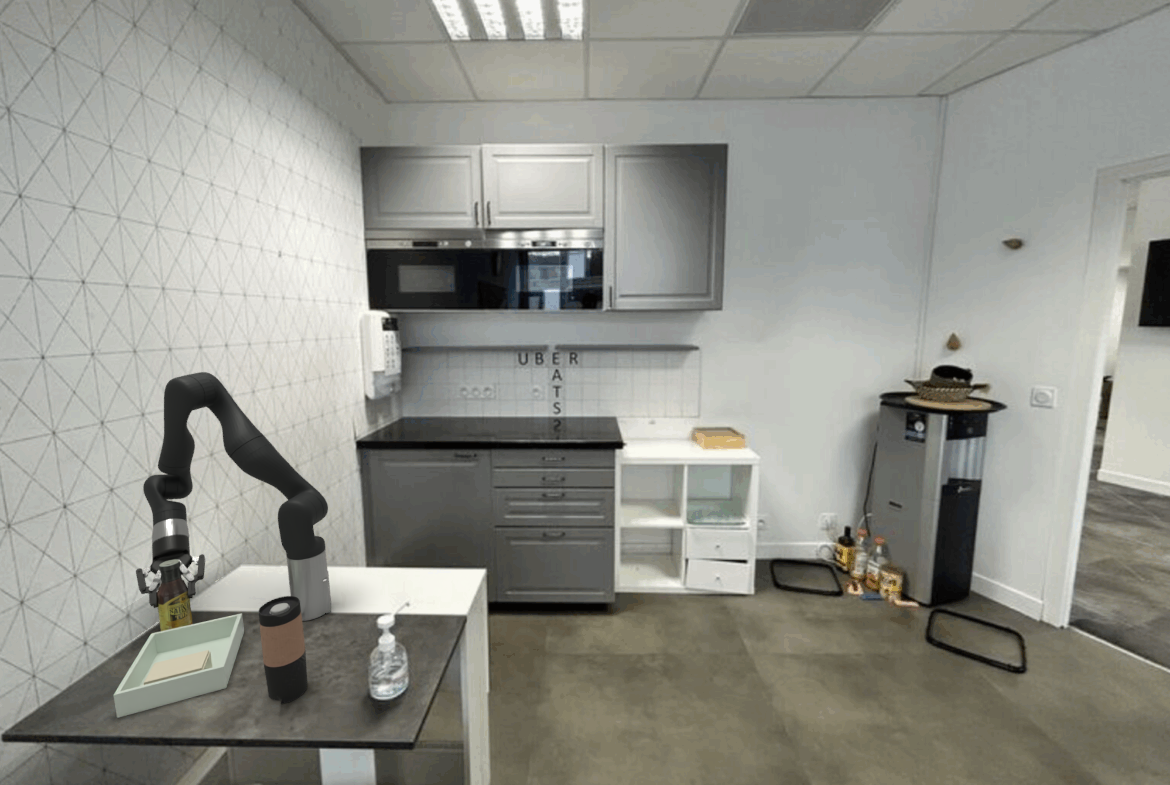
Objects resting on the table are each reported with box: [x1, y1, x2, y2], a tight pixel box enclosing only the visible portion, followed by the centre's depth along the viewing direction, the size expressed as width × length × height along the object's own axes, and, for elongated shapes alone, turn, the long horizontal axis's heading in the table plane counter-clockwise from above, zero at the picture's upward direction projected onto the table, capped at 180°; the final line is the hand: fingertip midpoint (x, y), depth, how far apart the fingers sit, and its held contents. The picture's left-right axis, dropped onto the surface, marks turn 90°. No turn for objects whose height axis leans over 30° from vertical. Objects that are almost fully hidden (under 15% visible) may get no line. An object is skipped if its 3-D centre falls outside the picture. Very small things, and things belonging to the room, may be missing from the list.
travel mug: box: [258, 595, 308, 705], centre depth 105 cm, size 8×8×20 cm
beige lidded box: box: [143, 650, 212, 685], centre depth 107 cm, size 10×7×5 cm
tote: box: [113, 612, 245, 719], centre depth 112 cm, size 18×22×6 cm
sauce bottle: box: [157, 559, 194, 631], centre depth 124 cm, size 6×6×20 cm
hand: (173, 601), depth 123 cm, fingers closed on sauce bottle, 6 cm apart
